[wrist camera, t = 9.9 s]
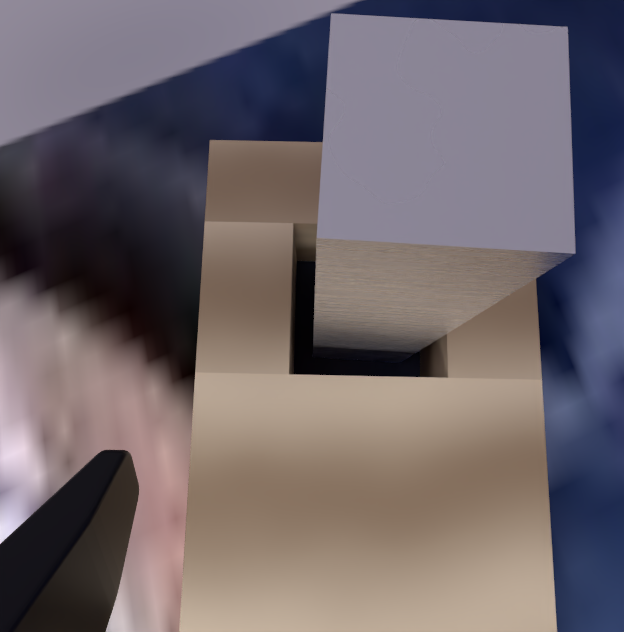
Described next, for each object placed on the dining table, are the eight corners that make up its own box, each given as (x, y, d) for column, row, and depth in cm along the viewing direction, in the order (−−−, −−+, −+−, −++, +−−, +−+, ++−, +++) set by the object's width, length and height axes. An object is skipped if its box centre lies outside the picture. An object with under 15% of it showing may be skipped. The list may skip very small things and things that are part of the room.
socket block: (511, 789, 17) (573, 904, 13) (197, 781, 17) (162, 893, 13) (486, 197, 20) (527, 146, 16) (229, 193, 20) (209, 140, 17)
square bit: (400, 362, 19) (575, 253, 6) (312, 357, 19) (316, 237, 7) (402, 278, 20) (567, 26, 7) (318, 273, 20) (331, 12, 7)
